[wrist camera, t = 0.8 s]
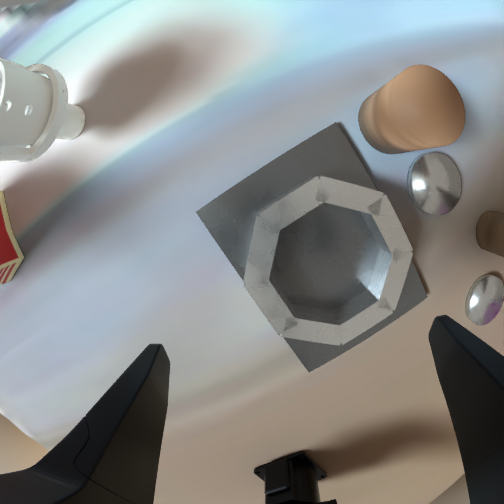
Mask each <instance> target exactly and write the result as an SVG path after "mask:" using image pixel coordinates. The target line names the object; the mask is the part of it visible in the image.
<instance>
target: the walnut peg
mask: <svg viewBox="0 0 504 504" xmlns="http://www.w3.org/2000/svg"><path fill="white" fill-rule="evenodd" d="M476 239H477V242H478V244H479V246H480V247H481V248H482V249H484V250H487V251H489V252H492V253H495V254H497V255H500V256H502V257H504V214H500V213H496V212H490V211H489V212H486V213H484V214H483V215H482V216H481V217H480V219H479V221H478V223H477V227H476Z"/></svg>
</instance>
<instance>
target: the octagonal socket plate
mask: <svg viewBox="0 0 504 504" xmlns="http://www.w3.org/2000/svg"><path fill="white" fill-rule="evenodd" d="M196 213H197V214H198V216H199V217H200V219H201V220H202V222H203V223H204V225H205V226H206V228H207V229H208V230H209V232H210V233H211V235H212V236H213V238H214V239H215V241H216V242H217V244H218V245H219V246H220V248H221V249H222V251H223V252H224V254H225V255H226V257H227V258H228V260H229V261H230V262H231V264H232V265H233V267H234V268H235V270H236V271H237V272H238V274H239V275H240V277H241V278H242V280H243V283H244V287H245V288H246V290H247V291H248V293H249V294H250V296H251V297H252V298H253V300H254V301H255V303H256V304H257V305H258V307H259V308H260V310H261V311H262V312H263V314H264V315H265V317H266V318H267V319H268V321H269V322H270V324H271V325H272V326H273V328H274V329H275V330H276V332H277V333H278V335H280V334H281V336H282V337H284V339H285V340H286V341H287V343H288V344H289V346H290V347H291V348H292V350H293V351H294V353H295V354H296V355H297V357H298V358H299V359H300V361H301V362H302V364H303V365H304V366H305V368H306V369H307V370H308V372H310V371H312V370H314V369H316V368H318V367H320V366H321V365H323V364H325V363H327V362H329V361H330V360H332V359H334V358H336V357H337V356H339V355H341V354H342V353H344V352H346V351H347V350H349V349H351V348H352V347H354V346H356V345H357V344H359V343H361V342H362V341H364V340H365V339H367V338H369V337H370V336H372V335H373V334H375V333H376V332H378V331H380V330H381V329H383V328H384V327H386V326H387V325H389V324H390V323H392V322H393V321H395V320H396V319H398V318H399V317H400V316H402V315H403V314H405V313H406V312H408V311H409V310H411V309H412V308H413V307H415V306H416V305H418V304H419V303H420V302H422V301H423V300H424V299H426V298H427V294H426V292H425V289H424V287H423V284H422V282H421V280H420V277H419V275H418V272H417V270H416V268H415V266H414V263H413V261H412V255H413V252H411V251H412V250H413V248H412V246H411V244H410V242H409V240H408V237H407V235H406V233H405V231H404V229H403V227H402V225H401V223H400V221H399V219H398V217H397V215H396V213H395V211H394V209H393V207H392V205H391V203H390V201H389V199H388V197H387V196H386V195H385V194H383V192H380V191H377V189H376V187H375V185H374V183H373V182H372V180H371V178H370V176H369V175H368V173H367V171H366V170H365V168H364V166H363V164H362V163H361V161H360V159H359V158H358V156H357V154H356V153H355V151H354V150H353V148H352V146H351V145H350V143H349V142H348V140H347V138H346V137H345V135H344V134H343V132H342V131H341V129H340V128H339V126H338V125H337V123H336V122H335V123H334V124H332V125H330V126H329V127H327V128H325V129H323V130H322V131H320V132H318V133H317V134H315V135H313V136H312V137H310V138H308V139H307V140H305V141H303V142H302V143H300V144H299V145H297V146H295V147H294V148H292V149H290V150H289V151H287V152H286V153H284V154H282V155H281V156H279V157H278V158H276V159H275V160H273V161H271V162H270V163H268V164H267V165H265V166H264V167H262V168H260V169H259V170H257V171H256V172H254V173H253V174H251V175H250V176H248V177H247V178H245V179H244V180H242V181H241V182H239V183H238V184H236V185H235V186H233V187H232V188H230V189H229V190H227V191H226V192H224V193H223V194H221V195H220V196H218V197H217V198H215V199H214V200H213V201H211V202H210V203H208V204H207V205H205V206H204V207H202V208H201V209H200V210H198V211H197V212H196Z"/></svg>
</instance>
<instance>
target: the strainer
mask: <svg viewBox="0 0 504 504" xmlns="http://www.w3.org/2000/svg"><path fill="white" fill-rule="evenodd" d="M40 74H46V75H47V76H48V77H49V78H50V79H49V78H46V77H44V76H41V75H40ZM84 124H85V114H84V111H83V110H82V109H81V108H80V107H78V106H75V105H72V104H69V103H68V90H67V85H66V82H65V79H64V78H63V76H62V75H61V74H60V73H59V72H58V71H57V70H55V69H53V68H51V67H48V66H46V65H43V64H34V65H31V66H28V67H25V66H22V65H19V64H17V63H14V62H11V61H9V60H6V59H3V58H0V161H10V162H29V161H32V160H34V159H36V158H38V157H39V156H41V155H42V154H43V153H44V152H45V151H46V150H47V149H48V148H49V147H50V146H51V144H52V143H53V142H54V140H55V138H57V139H63V140H72V139H74V138H76V137H77V136H78V135H79V134H80V133H81V131H82V130H83V127H84Z"/></svg>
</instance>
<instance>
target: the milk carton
mask: <svg viewBox="0 0 504 504" xmlns="http://www.w3.org/2000/svg"><path fill="white" fill-rule="evenodd" d="M23 258H24V256H23V254H22V252H21V250H20V248H19V245H18V243H17V241H16V239H15V237H14V234H13V232H12V229H11V225H10V221H9V217H8V212H7V208H6V203H5V198H4V193H3V191H0V285H1V284H4V283H7V282H10V281H11V279H12V277H13V275H14V274H15V272H16V270H17V269H18V267H19V265H20V263H21V262H22V260H23Z"/></svg>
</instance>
